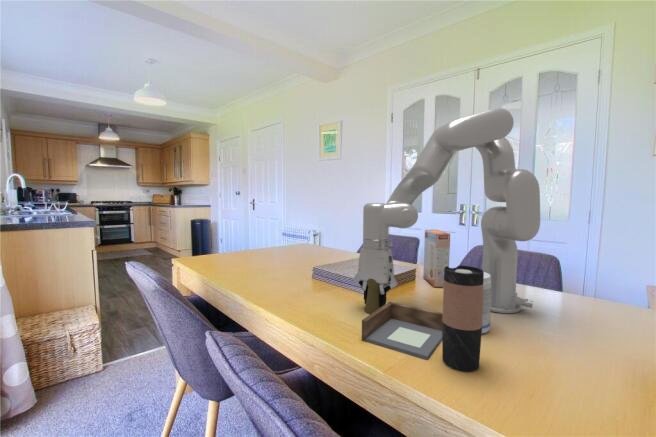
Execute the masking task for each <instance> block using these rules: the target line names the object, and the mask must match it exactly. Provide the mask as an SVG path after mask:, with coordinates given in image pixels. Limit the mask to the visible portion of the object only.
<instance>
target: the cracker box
mask: <svg viewBox="0 0 656 437" xmlns="http://www.w3.org/2000/svg"><path fill="white" fill-rule="evenodd" d="M423 249H424V250H423V277H422V278H423V279H424V280H425V281H427V283H429V285H431V286H432V287H433V288H444V269H445V267H446V266H448V267H449V268H450V255H451V254H450V250H451V233H449V232H445V231H442V230H439V229H424V246H423Z"/></svg>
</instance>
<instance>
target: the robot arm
mask: <svg viewBox="0 0 656 437" xmlns="http://www.w3.org/2000/svg"><path fill="white" fill-rule="evenodd" d="M514 121H515V120H514V117H513V115H512V114H511V112H510V111H509V110H507V109H505V108H502V107H497V108H496V107H495V108H492V109H489V110H485V111H482V112H478V113H475V114H472V115H468V116H464V117H460V118H456V119H454V120H451V121H448V122H447V123H445V124H442V125H440V126H439V127H437V128H436V129H435V130H434V131H433V132H432V134H431V136H430V137H429V139H428V140H427V142H426V144H425V146H424V147H423V148H422V151H421V152H420V154H419V156H418V158H417V159H416V161H415V163H414V164H413V165H412V167H411V168H410V169H409V171H408V172H407V173H406V175H405V176H404V177H403V178H402V179H401V181H400V182H399V183H398V184H397V186H396V187H395V188H394V190H393V192H392V193H391V195H390V196H389V198H388V200H387V202H386V203H383V202H367V203H365V204H364V205H363V210H362V211H363V213H362V214H363V215H362V216H363V219H362V223H363V224H362V226H363V227H362V229H363V230H362V247H361V249H360V252H359V257H358V264H357V265H358V266H357V273H356V274H355V275H354V277H353V278H354V280H355V281H356V282H357V283H358V284H359V285H360V287H361V290H362V291H363V300H364V304H365V305H366V299H367V291H368V285H367V282H366V281H367V280H368V279H374V280H375V281H376V282H377V283H379V284H380V285H379V286H380V294H379V307H382V306H383V305H385V304H387V293H388V292H389V291H390V290H392V289H393V288H395V287H397V286H398V282H397V280H396V278H395V274H394V272H395V270H394V269H395V268H394V259H393V253H392V249H390V247H393V245H394V244H393V242H392V241H390V239H389V235H390V234H389V231H390V230H389V229H390V228H398V229H408V228H411V227H413V226H414V225H415V224H416V223H417V221H418V219H419V214H418V213H419V212H418V210H417V208H416V207H415V206H414V205H413V204H414V202H415V200H416V199H418V197H420V195H421V194H422V193H424V192H425V191H427V189H429V188H431V187H432V186H434V185H435V184H437V182H438V181H439V180H440V178H441V177H442V175H443V173H444V172H445V169H446V168H447V166H448V165H449V163H450V161H451V159H453V157H454V155H455V153H456V152H459V151H464V150H466V149H471V148H475V149H477V151H478V152H479V154H480V156H481V159H482V164H483V189H484V195H485V196H486V198H487V199H488V200H490V201H492V202H496V203H505V206H502V205H501V206H492V207H490V208H489V209H487V210H486V211H485V212H484V213H483V215H482V216H481V219H480V228H481V236H482V268H481V269H482V270H483V272H486V273H488V274H490V275H491V312H493V313H501V314H516V313H520V312H521V310H522V307H525V308H529V309H530V308H531V309H533V306H534V304H533V302H534V301H532V300H529V299H528V298H521V297H520V296H518V292H517V278H518V277H517V274H518V272H517V271H518V258H519V257H518V255H519V254H518V253H519V252H518V246H517V245H518V244H517V242H527V241H530V240H533V239H534V238H535V237H536V236H537V234H538V233H539V231H540V228H541V192H540V191H541V190H540V184H539V181H538V179H537V177H536V176H535V174H534V173H532V172H531V171H529V170H528V169H523V168H517V169H516V161H515V160H516V159H515V152H514V148H513V146H512V144H511V143H510V141H509V140H508V139H507V138H506V137H507V136H508V135H509V134H510V133H511V132H512V130H513V128H514V123H515V122H514ZM389 282H390V284H388V283H389ZM521 306H522V307H521Z"/></svg>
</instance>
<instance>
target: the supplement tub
mask: <svg viewBox="0 0 656 437" xmlns="http://www.w3.org/2000/svg"><path fill="white" fill-rule="evenodd" d="M491 313H492V311H491V275H490V274H488V273H486V272H484V280H483V314H482V334H486V333H487V332H489V331H490V329H491Z"/></svg>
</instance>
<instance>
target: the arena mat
mask: <svg viewBox="0 0 656 437" xmlns="http://www.w3.org/2000/svg"><path fill="white" fill-rule="evenodd" d="M362 339H363V340H362ZM361 340H362V341H363V342H366V343H370V344H373V345H376V346H380V347H383V348H387V349H390V350H393V351H397V352H400V353H403V354H407V355H409V356H413V357H416V358H419V359H423V360H426V361H428V360H429V358H430V357H431V356H432V355H433V353H434V352H435V351H436V349H437V348H438V347H439V345H440V344H441V343H442V331H441V330H437V329H433V328H428V327H424V326H420V325H416V324H412V323H408V322H404V321H400V320H396V319H390V320H389V321H387V322H386V323H385V324H383V325H382V326H381V327H380V328H378V329H377V330H376V331H375V332H373V333H372V334H371V335H370V336H368V337H367V338H366V340H365V338H363V337H362V336H361Z"/></svg>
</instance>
